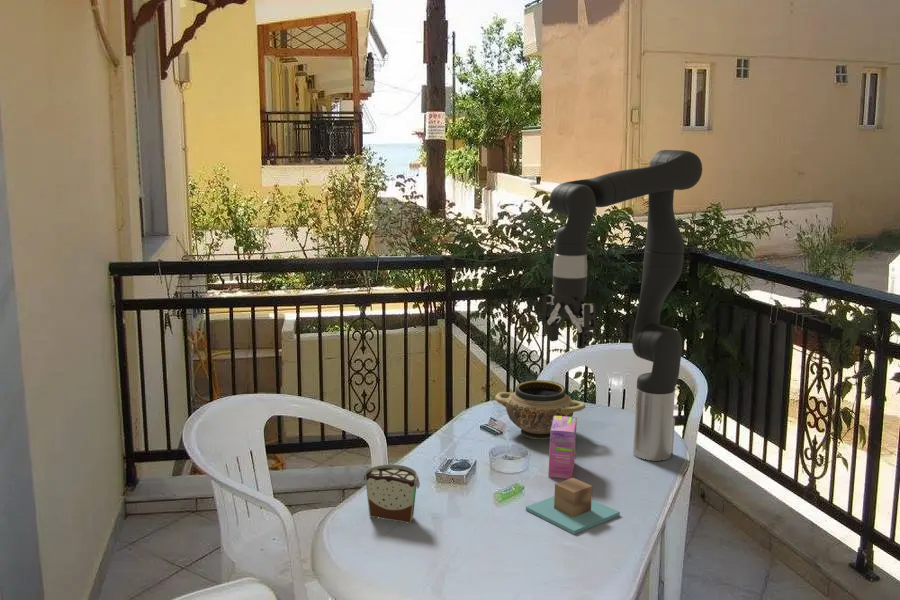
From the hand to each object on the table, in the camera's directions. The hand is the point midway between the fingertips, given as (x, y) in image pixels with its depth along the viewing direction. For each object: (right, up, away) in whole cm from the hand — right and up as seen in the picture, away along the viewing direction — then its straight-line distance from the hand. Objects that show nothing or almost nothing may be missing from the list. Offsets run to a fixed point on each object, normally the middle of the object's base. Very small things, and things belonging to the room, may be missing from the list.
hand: (567, 344), depth 193 cm
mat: (-1, -35, -12) cm, 37 cm away
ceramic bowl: (-3, -26, +35) cm, 43 cm away
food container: (-38, -35, -13) cm, 54 cm away
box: (0, -31, +11) cm, 33 cm away
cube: (-1, -34, -12) cm, 37 cm away
